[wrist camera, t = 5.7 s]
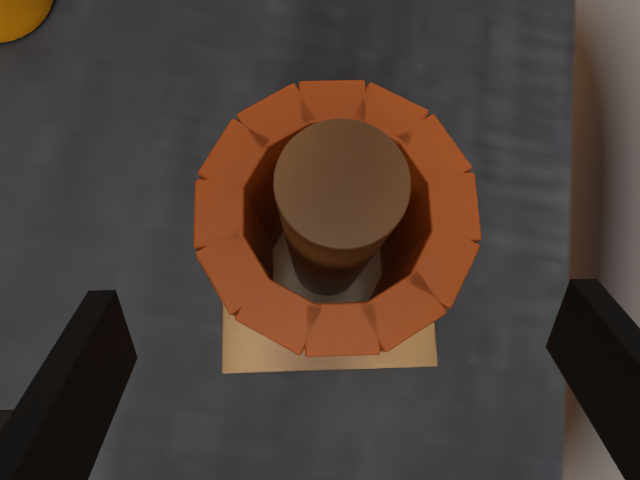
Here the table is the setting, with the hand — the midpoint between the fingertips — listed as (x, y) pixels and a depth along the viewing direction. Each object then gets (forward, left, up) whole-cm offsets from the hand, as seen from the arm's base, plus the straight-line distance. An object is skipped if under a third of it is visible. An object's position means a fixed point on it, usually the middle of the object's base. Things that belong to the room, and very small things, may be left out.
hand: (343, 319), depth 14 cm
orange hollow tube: (0, +3, -8) cm, 9 cm away
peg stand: (0, +3, -9) cm, 10 cm away
